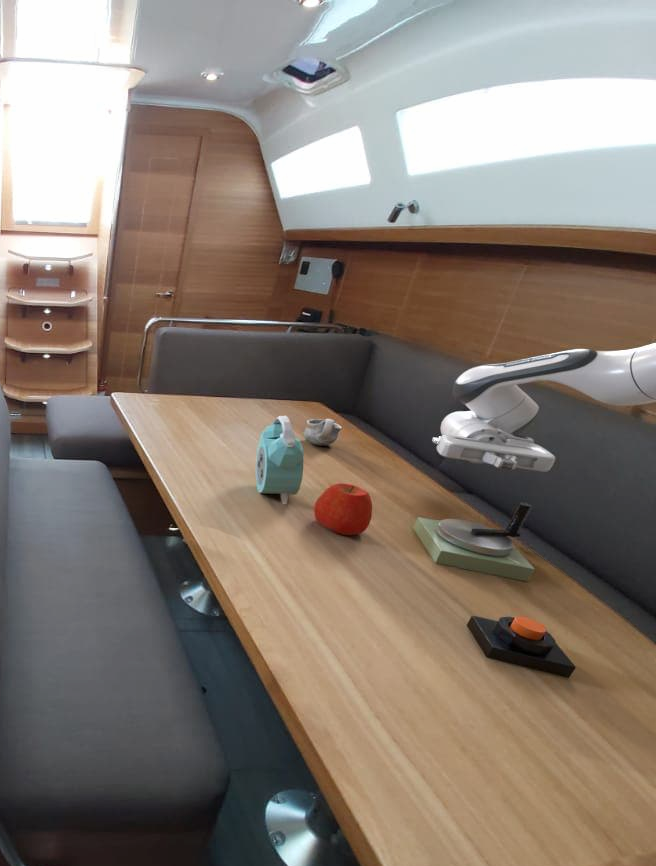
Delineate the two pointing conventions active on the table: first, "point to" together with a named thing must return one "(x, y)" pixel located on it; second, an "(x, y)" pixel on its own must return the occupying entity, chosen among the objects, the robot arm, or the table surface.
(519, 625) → the button
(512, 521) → the wheel
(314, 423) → the grey spouted pot
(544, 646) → the button box
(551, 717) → the table surface
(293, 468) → the alarm clock
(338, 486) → the apple
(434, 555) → the dial plate
